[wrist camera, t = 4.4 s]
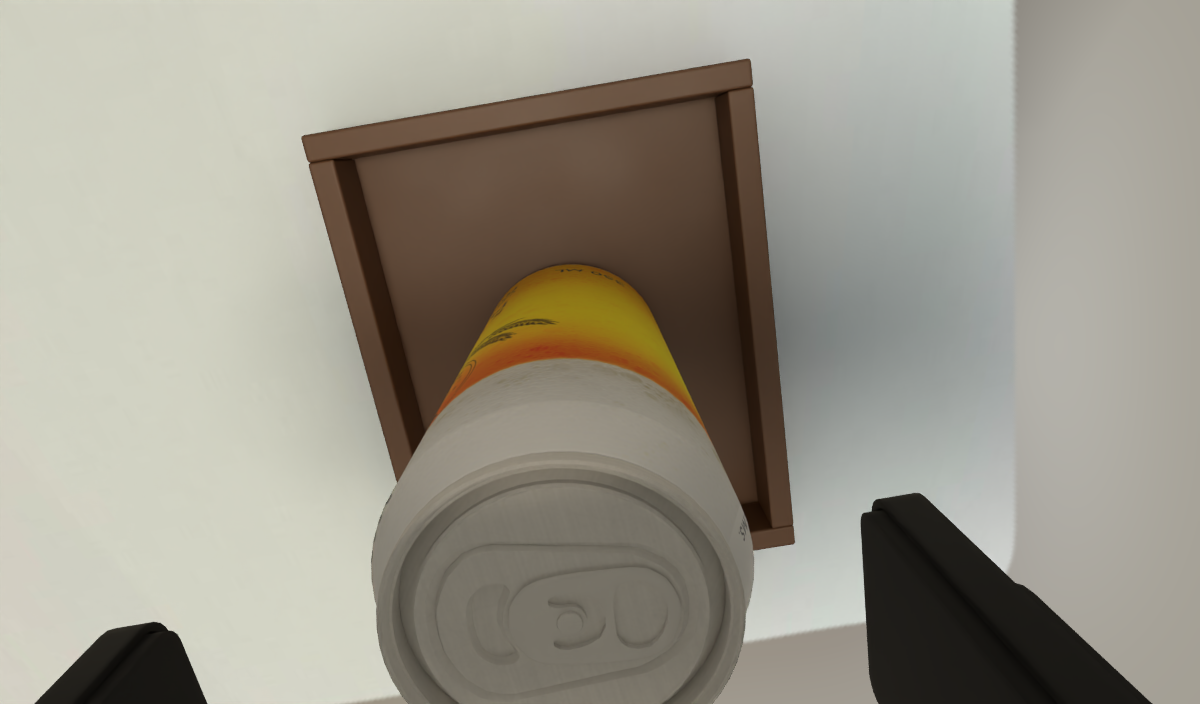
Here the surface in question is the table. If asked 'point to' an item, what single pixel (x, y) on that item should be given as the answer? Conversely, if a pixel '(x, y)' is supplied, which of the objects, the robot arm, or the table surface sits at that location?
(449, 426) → the beer can
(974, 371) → the table surface
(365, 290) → the tray
